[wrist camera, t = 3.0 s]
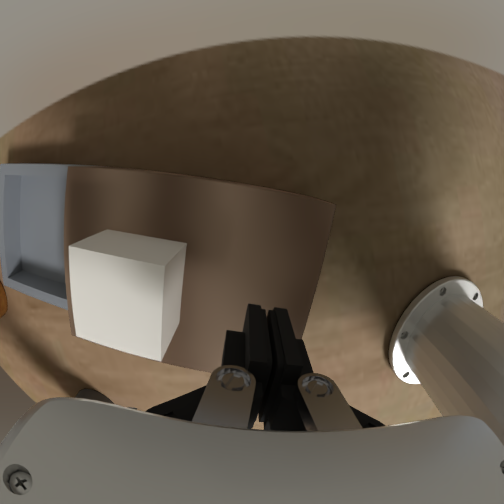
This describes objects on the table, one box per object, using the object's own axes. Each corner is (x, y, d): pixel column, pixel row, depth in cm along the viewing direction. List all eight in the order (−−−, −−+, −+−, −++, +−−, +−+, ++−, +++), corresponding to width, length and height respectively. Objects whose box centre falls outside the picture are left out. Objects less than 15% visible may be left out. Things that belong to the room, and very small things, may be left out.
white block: (187, 243, 15) (164, 266, 11) (179, 322, 16) (161, 361, 12) (107, 229, 15) (68, 245, 11) (107, 305, 16) (76, 336, 12)
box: (111, 166, 19) (92, 166, 16) (105, 302, 22) (89, 317, 20) (20, 163, 19) (0, 163, 16) (20, 275, 22) (3, 284, 19)
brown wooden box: (312, 196, 20) (336, 204, 14) (279, 337, 23) (287, 382, 17) (111, 166, 19) (68, 166, 14) (105, 302, 22) (71, 334, 17)
